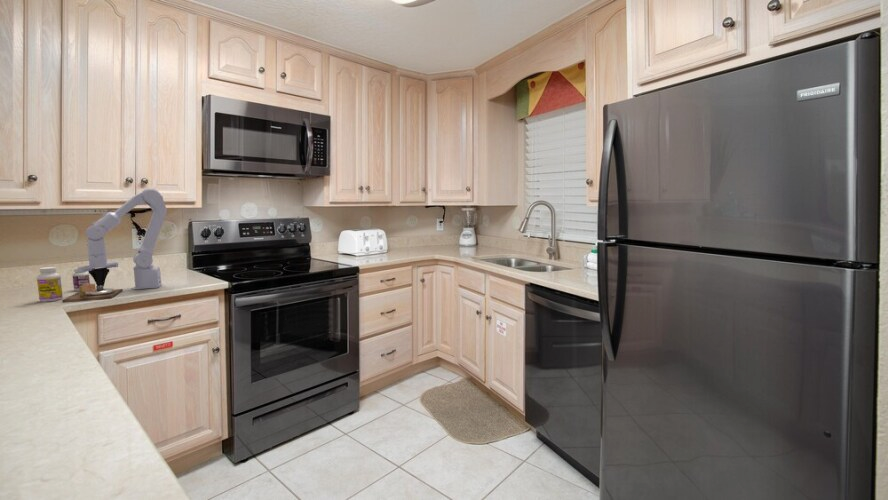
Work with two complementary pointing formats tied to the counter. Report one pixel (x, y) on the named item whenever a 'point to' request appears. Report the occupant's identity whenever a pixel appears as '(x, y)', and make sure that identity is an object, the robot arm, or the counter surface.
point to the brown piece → (83, 297)
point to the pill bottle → (80, 279)
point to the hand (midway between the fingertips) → (100, 286)
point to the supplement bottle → (49, 285)
